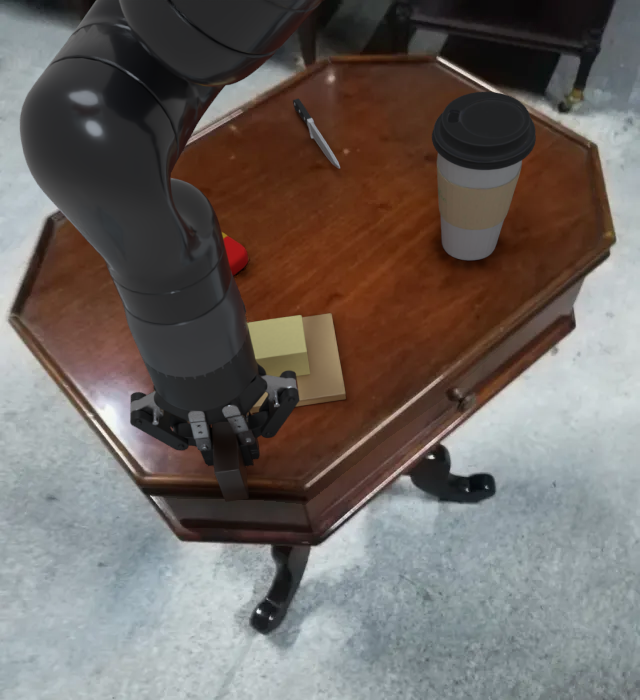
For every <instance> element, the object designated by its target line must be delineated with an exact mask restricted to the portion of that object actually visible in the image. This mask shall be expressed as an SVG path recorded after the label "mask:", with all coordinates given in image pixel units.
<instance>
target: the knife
mask: <svg viewBox="0 0 640 700" xmlns="http://www.w3.org/2000/svg"><path fill="white" fill-rule="evenodd" d="M292 103H293V108H294V110H295V112H297V113H298V115H299V116H300V118H301V119H302V121H303V122H304V123H305V125H306V126H307V127H308V131H309V136H310V138H311V139H313V140H314V141H315V142H316V144H317V145H318V147H319V148H320V150H321V152H322V153H323V154H324V156H326V158H327V160H328V161H329V162H330V163H331V164H332V165H333V166H334V167H336V168H337V169H341V166H340V162H339V161H338V159H337V157H336V156H335V154H334V152H333V151H332V149H331V148H330V146H329V144H328V143H327V141H326V139H325V138H324V137H323V135H322V134H321V132H320V131H319V129H318V127H317V126H316V124H315V121H314V119H313V118H312V116H311V114H310V113H309V111H308V110H307V108H306V107H305V105H304V103H303V102H302V101H301V99H300V98H296V99H295V98H294V99H293V100H292Z"/></svg>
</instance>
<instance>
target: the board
mask: <svg viewBox="0 0 640 700" xmlns="http://www.w3.org/2000/svg"><path fill="white" fill-rule="evenodd" d="M302 321H303V328H304V335H305V342H306V348H307V355H308V362H309V369H310V374H308V375H301V376H296V378H297V384H298V391H299V402H298V403H297V405H296V406H295V408H296V407H303V406H309V405H315V404H322V403H329V402H336V401H343V400H344V401H345V400H346V399H347V393H346V386H345V381H344V374H343V371H342V370H343V369H342V366H341V365H342V364H341V360H340V359H341V358H340V353H339V347H338V342H337V337H336V331H335V325H334V319H333V314H332V313H331V312H329V313H322V314H317V315H316V314H315V315H308V316H302ZM267 396H268V393H267V392H265V393H264V394H263V396H262V397H261V398H260V399H259V400H258V401H257V403H256V404H255V405H254V406H253V407H252V409H251V412H252V414H256V413H259V408H260V407H261V405H262V403H263V402H264V400H265V399H266V397H267Z"/></svg>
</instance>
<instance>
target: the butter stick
mask: <svg viewBox="0 0 640 700" xmlns="http://www.w3.org/2000/svg"><path fill="white" fill-rule="evenodd" d="M302 317H303V316H302V314H298V315H290V316H285V317H284V316H283V317H277V318H269V319H264V320H263V319H262V320H255V321H249V322H247V324H248V328H249V332H250V337H251V341H252V345H253V350H254V354H255V358H256V361H257V363H258V364H259V365H261V366H262V367H263V368H264V369H265V371H266V375H270V376H276V377H280V375H281V374H282V373H283V372H284V371H288V370H291V371H294V372H295V373H296V376H301V375H308V374H310V369H309V362H308V355H307V348H306V342H305V335H304V328H303V321H302Z"/></svg>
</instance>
